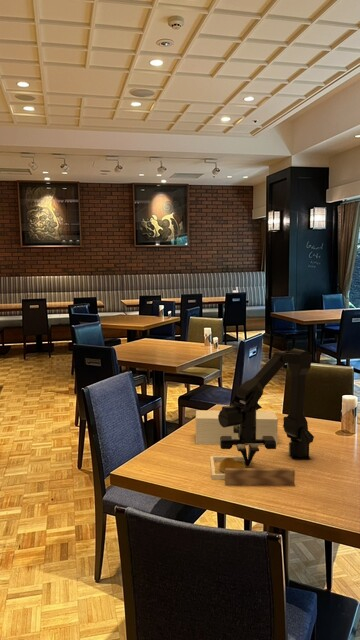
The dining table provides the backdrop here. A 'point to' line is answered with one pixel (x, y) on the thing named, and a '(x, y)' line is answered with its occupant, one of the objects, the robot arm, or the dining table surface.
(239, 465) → the bread roll
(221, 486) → the dining table surface
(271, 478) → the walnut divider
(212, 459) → the serving bay
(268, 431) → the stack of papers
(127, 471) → the dining table surface
